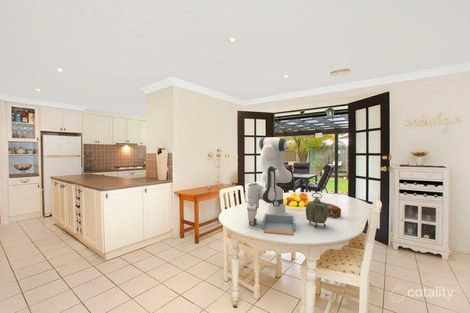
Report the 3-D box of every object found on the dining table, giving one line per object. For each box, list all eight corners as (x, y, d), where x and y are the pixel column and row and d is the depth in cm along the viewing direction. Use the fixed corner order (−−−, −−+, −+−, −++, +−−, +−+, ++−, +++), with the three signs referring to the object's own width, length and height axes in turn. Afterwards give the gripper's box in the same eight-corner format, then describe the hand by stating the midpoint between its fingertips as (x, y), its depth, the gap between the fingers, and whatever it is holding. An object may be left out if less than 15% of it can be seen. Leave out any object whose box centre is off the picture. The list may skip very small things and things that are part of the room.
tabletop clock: (327, 226, 163) (328, 192, 162) (326, 230, 155) (326, 194, 154) (307, 223, 170) (308, 190, 169) (305, 226, 162) (305, 192, 162)
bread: (314, 213, 196) (315, 202, 196) (322, 211, 202) (322, 200, 202) (334, 219, 181) (334, 206, 180) (341, 216, 187) (341, 205, 186)
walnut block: (250, 224, 167) (250, 217, 167) (256, 224, 166) (256, 218, 166) (248, 226, 162) (249, 219, 162) (255, 227, 161) (255, 220, 161)
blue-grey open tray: (264, 223, 170) (264, 213, 170) (294, 225, 165) (294, 215, 165) (262, 230, 153) (262, 220, 153) (295, 233, 148) (295, 223, 148)
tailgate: (264, 228, 153) (263, 231, 146) (292, 230, 149) (293, 234, 142) (264, 230, 153) (263, 233, 146) (292, 232, 149) (293, 236, 142)
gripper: (250, 201, 174) (250, 219, 175) (246, 208, 154) (246, 227, 155) (258, 202, 173) (258, 219, 173) (255, 208, 153) (255, 228, 153)
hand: (252, 223), depth 164 cm, fingers closed on walnut block, 5 cm apart
